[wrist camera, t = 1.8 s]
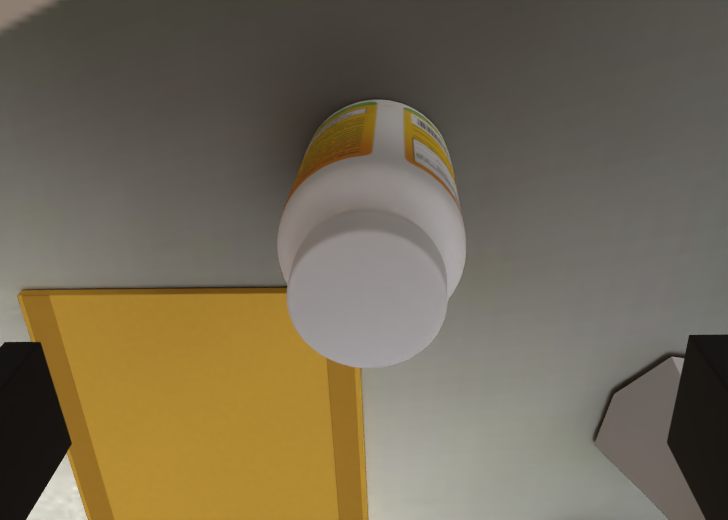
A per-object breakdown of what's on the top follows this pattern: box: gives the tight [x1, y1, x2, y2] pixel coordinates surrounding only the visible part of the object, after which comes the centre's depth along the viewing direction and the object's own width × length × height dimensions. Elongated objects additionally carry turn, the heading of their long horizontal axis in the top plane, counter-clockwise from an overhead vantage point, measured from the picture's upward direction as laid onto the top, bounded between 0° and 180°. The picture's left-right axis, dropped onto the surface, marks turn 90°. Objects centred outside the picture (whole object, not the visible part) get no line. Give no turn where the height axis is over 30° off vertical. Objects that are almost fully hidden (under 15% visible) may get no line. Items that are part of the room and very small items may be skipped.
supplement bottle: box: [277, 100, 466, 368], centre depth 21 cm, size 5×5×10 cm
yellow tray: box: [17, 288, 368, 520], centre depth 31 cm, size 16×14×1 cm
